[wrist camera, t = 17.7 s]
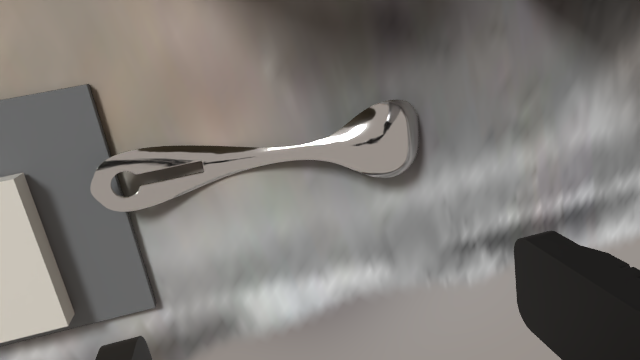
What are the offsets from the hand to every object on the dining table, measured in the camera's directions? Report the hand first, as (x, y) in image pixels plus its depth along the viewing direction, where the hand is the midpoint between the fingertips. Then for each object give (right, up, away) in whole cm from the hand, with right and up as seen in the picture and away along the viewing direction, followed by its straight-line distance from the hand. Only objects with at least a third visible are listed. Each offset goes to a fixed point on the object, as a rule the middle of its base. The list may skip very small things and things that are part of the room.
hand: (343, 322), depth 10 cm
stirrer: (-4, +5, +20) cm, 21 cm away
